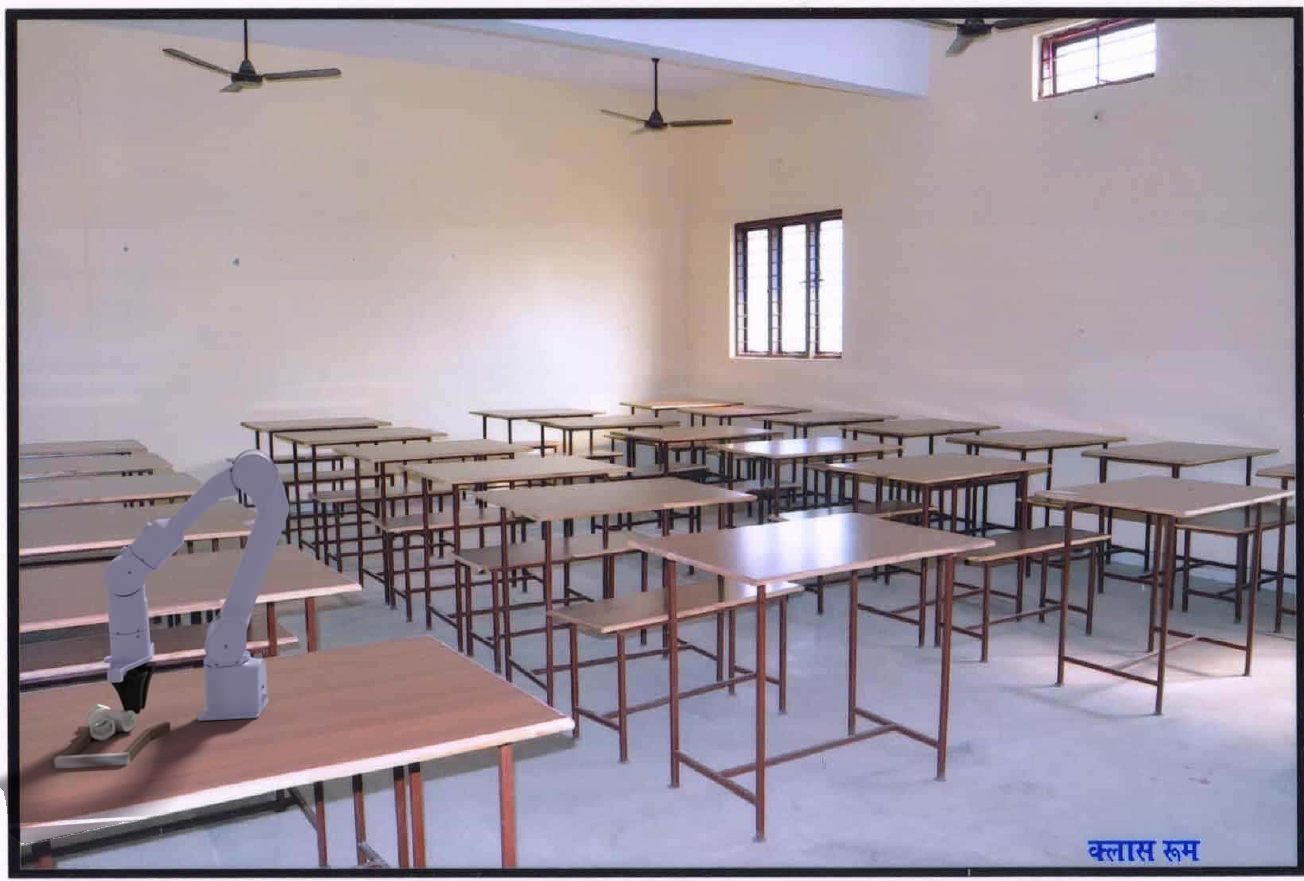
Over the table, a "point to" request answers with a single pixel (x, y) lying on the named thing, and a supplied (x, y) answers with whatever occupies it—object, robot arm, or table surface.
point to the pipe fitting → (109, 721)
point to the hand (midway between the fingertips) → (135, 711)
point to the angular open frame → (109, 759)
